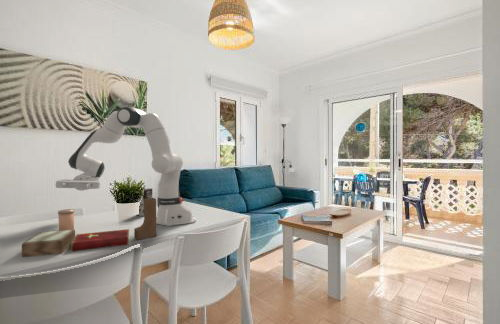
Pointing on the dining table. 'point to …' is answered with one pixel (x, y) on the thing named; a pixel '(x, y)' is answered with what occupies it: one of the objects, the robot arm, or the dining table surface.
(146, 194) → the coffee box
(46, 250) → the walnut pedestal
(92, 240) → the hardcover book
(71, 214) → the terracotta jar
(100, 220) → the dining table surface
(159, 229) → the dining table surface
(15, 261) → the dining table surface
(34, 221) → the dining table surface
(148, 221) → the wooden block
